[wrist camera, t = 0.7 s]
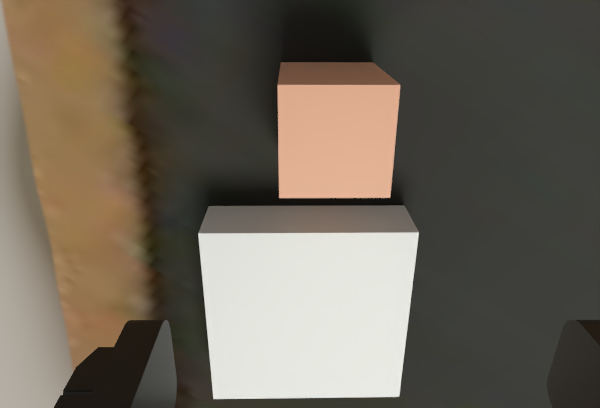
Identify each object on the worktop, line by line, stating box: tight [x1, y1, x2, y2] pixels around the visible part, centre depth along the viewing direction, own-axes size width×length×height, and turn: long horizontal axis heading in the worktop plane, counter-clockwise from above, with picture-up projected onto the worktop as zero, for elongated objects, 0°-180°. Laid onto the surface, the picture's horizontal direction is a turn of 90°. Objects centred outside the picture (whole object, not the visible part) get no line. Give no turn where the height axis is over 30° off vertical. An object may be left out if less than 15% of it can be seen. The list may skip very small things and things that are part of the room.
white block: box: [198, 205, 419, 399], centre depth 30 cm, size 12×12×4 cm
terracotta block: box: [278, 62, 400, 198], centre depth 23 cm, size 5×5×7 cm
